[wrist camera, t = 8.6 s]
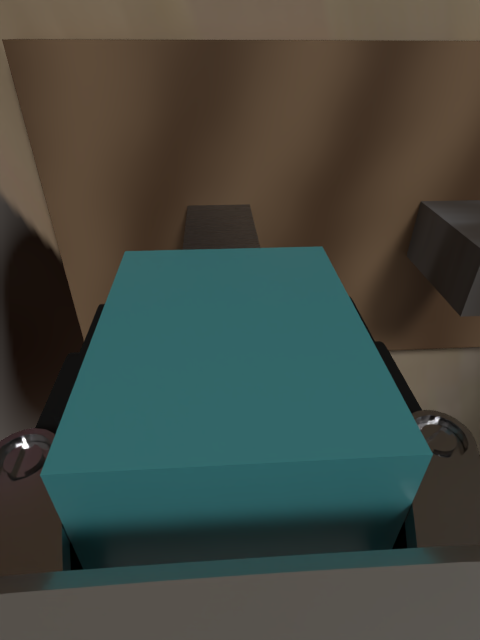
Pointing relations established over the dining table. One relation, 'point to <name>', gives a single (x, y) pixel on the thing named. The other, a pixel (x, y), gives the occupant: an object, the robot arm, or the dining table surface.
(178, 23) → the dining table surface
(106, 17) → the dining table surface
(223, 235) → the grey block
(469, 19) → the dining table surface
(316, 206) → the flat wooden board
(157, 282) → the turquoise toy cube
